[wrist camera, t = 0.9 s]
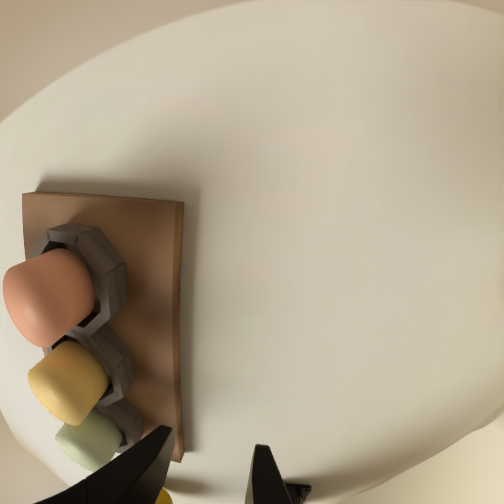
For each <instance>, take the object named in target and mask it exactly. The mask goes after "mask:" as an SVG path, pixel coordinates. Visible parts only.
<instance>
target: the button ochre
mask: <svg viewBox="0 0 504 504" xmlns="http://www.w3.org/2000/svg"><path fill="white" fill-rule="evenodd" d="M28 381H29V384H30V387H31V389H32V391H33V393H34V395H35V396H36V398H37V399H38V400H39V402H40V403H41V404H42V405H43V406H44V407H45V408H46V409H47V410H48V411H49V412H50V413H51V414H52V415H53V416H55V417H56V418H58V419H59V420H61V421H63V422H65V423H67V424H70V425H80V424H81V423H82V421H83V420H84V419H85V417H86V416H87V415H88V413H89V412H90V411H91V409H92V408H93V407H94V405H95V404H96V403H97V402H98V400H99V399H100V398H101V396H102V395H103V394H104V392H105V391H106V390H107V388H108V376H107V374H106V371H105V369H104V367H103V366H102V364H101V363H100V361H99V360H98V359H97V358H96V356H95V355H94V354H93V353H92V352H91V351H89V350H88V349H87V348H86V347H84V346H83V345H81V344H79V343H77V342H74V341H64V342H62V343H61V344H59V345H58V346H57V347H56V348H55V349H54V350H52V351H51V352H50V353H49V354H48V355H47V356H45V357H44V358H43V359H42V360H41V361H40V362H39V363H38V364H36V365H35V366H34V367H33V368H32V369H31V370H30V371H29V372H28Z"/></svg>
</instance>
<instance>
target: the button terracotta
mask: <svg viewBox="0 0 504 504" xmlns="http://www.w3.org/2000/svg"><path fill="white" fill-rule="evenodd" d="M3 296H4V301H5V304H6V308H7V310H8V313H9V315H10V317H11V319H12V321H13V323H14V324H15V326H16V327H17V329H18V330H19V332H20V333H21V334H22V335H23V336H24V337H25V338H26V339H27V340H28V341H30V342H31V343H32V344H34V345H36V346H38V347H42V348H47V347H50V346H52V345H53V344H54V343H55V342H56V341H58V340H59V339H60V338H61V337H63V336H64V335H65V334H66V333H67V332H69V331H70V330H71V329H72V328H73V327H75V326H76V325H77V324H78V323H80V322H81V321H82V320H83V319H85V318H86V317H87V316H88V315H89V314H90V313H91V312H92V310H93V308H94V304H95V288H94V284H93V281H92V278H91V275H90V273H89V271H88V269H87V267H86V266H85V264H84V263H83V262H82V261H81V259H80V258H79V257H78V256H77V255H75V254H74V253H73V252H71V251H69V250H67V249H64V248H56V249H53V250H51V251H48V252H46V253H43V254H41V255H39V256H36V257H34V258H32V259H29V260H27V261H25V262H22V263H20V264H18V265H16V266H13V267H11V268H10V269H8V271H7V272H6V274H5V276H4V280H3Z"/></svg>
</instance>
